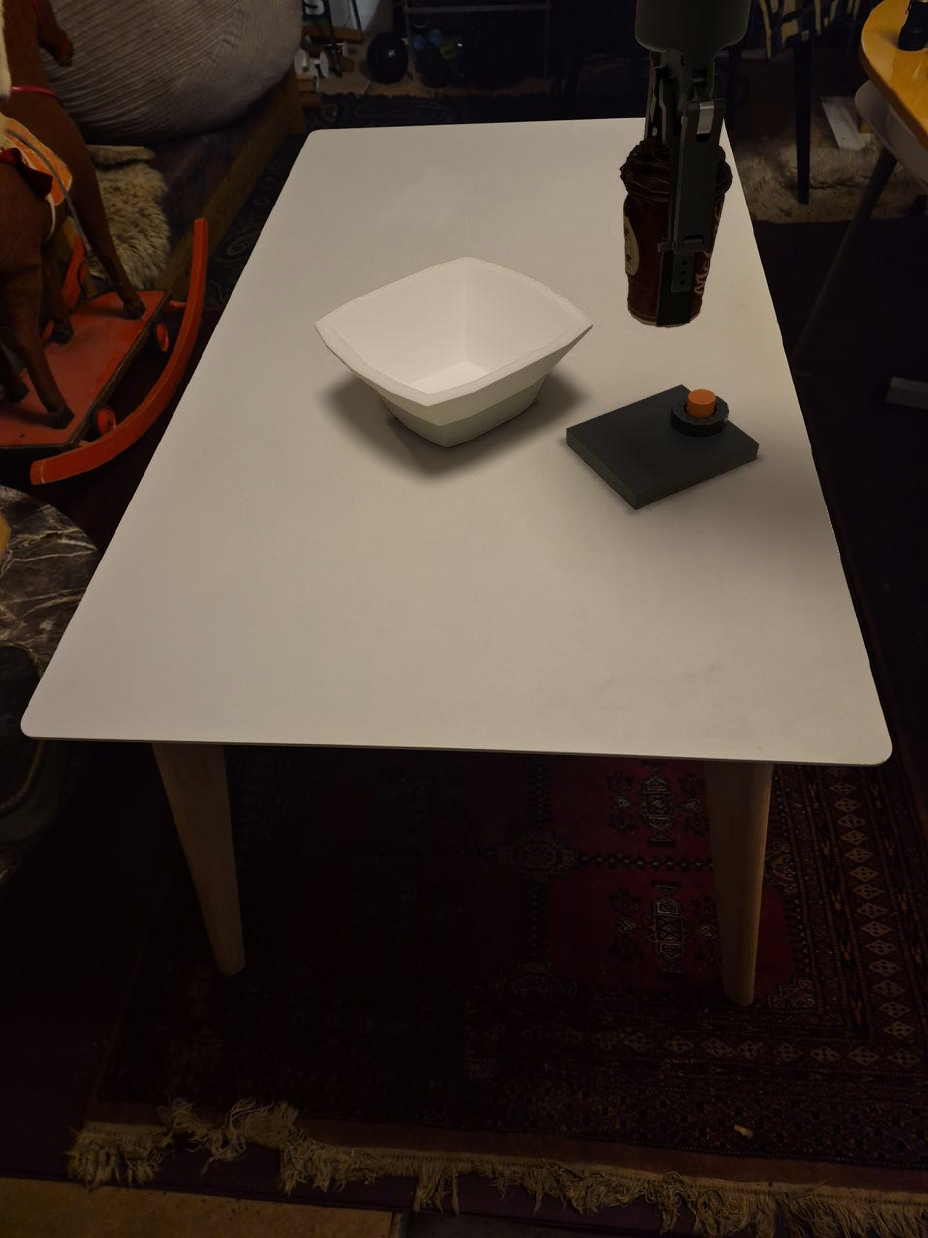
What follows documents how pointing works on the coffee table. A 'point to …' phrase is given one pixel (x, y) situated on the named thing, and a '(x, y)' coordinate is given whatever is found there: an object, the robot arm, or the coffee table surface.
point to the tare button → (701, 403)
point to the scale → (660, 446)
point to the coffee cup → (658, 226)
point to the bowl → (455, 345)
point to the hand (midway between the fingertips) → (662, 296)
